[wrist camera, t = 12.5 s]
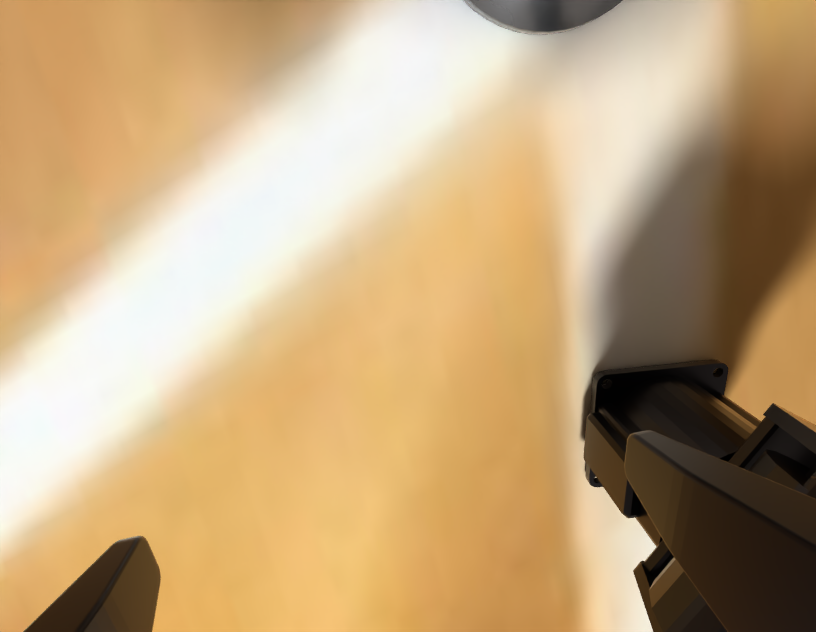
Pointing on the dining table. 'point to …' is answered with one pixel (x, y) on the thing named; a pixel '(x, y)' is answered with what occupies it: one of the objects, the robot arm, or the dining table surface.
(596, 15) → the brass collar
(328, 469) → the dining table surface
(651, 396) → the robot arm
